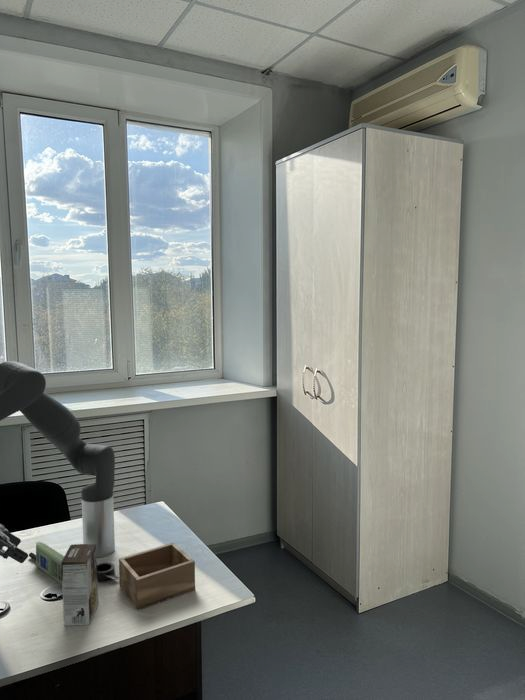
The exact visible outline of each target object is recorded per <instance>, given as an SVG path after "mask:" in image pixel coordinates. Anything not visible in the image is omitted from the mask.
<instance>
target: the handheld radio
mask: <svg viewBox="0 0 525 700" xmlns="http://www.w3.org/2000/svg"><path fill="white" fill-rule="evenodd" d="M64 556H65V555H63V554H62V553H60V552H58V551H57V550H55V549H53V547H51V546H49V545H47V544H46V543H45V542H41V541H37V542H35V553H34V552H30V553H29V554H28V557H29V558H31V559H32V560H33V561H35V566H36V567H37V568H39V570H41V571H43V572H44V573H45V574H47V575H48V576H49V577H51V578H52V579H53V580H55V581H57V582H58V583H59V584H61V585H62V569H61V562H62V560H63V558H64Z"/></svg>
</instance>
